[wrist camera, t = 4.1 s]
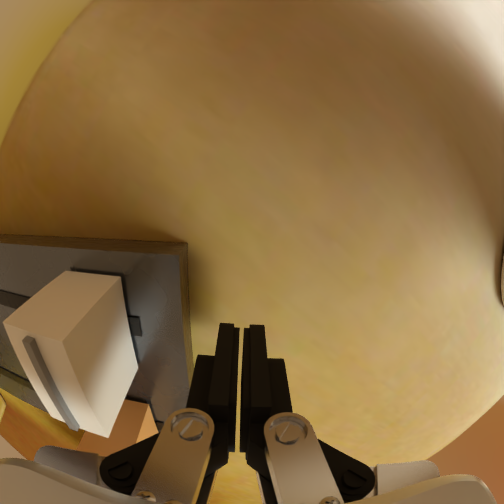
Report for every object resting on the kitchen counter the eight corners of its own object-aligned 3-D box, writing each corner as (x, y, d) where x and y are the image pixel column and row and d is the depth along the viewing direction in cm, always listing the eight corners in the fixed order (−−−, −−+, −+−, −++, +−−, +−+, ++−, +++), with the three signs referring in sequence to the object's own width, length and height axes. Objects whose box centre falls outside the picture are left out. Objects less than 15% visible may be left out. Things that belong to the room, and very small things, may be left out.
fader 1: (120, 276, 10) (56, 348, 6) (138, 367, 12) (106, 443, 7) (65, 270, 10) (-3, 326, 5) (88, 357, 12) (48, 421, 7)
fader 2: (148, 404, 13) (126, 472, 8) (163, 445, 14) (150, 500, 10) (103, 393, 13) (74, 454, 8) (123, 436, 14) (106, 488, 10)
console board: (187, 243, 11) (170, 267, 9) (202, 438, 16) (198, 467, 14) (-50, 232, 11) (-70, 242, 8) (0, 375, 16) (-12, 390, 13)
